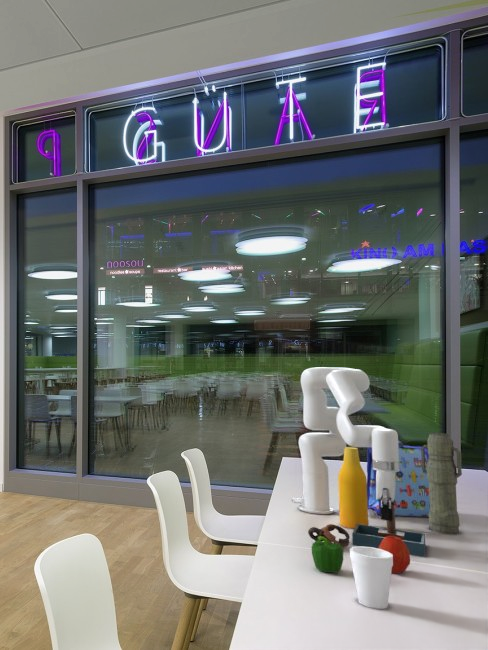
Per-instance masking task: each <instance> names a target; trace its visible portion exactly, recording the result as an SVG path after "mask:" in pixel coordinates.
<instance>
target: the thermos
mask: <svg viewBox="0 0 488 650" xmlns="http://www.w3.org/2000/svg"><path fill="white" fill-rule="evenodd" d="M426 441H427V444H424V445H422V446H421V447H422V448H421V454H422V470H423V473H426V474H427V480H428V482H429V495H430V510H429V517H428V522H429V530H430V531H433V532H437V533H441V534H448V535H458V534H460V526H461V523H460V515H459V512H458V502H457V484H458V478H460V477H461V476H462V475H463V472H462V451H461V450H460V449H459V448H458V447H455V446H454V441H453V439H452V436H451V434H448V433H445V432H444V433H443V432H432V433H429V435H428V438H427V440H426ZM425 448H426V449H427V450H428V454H429V458H428V463H427V470H426V471H425ZM455 453H456V464H455V459H454V456H455Z"/></svg>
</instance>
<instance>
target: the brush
mask: <svg viewBox="0 0 488 650" xmlns="http://www.w3.org/2000/svg"><path fill="white" fill-rule="evenodd" d="M391 509H392V519H393V520H392V521H387V520H386V528H387V530H385V529H379V531H378V536H379V537H387V536H393V535H394V536H396V537H398V538H400V539H401V540H405V532H398V531H396V530H397V529H396V527H397V526H396V516H395V506H394V505H391Z"/></svg>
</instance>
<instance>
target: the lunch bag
mask: <svg viewBox="0 0 488 650" xmlns="http://www.w3.org/2000/svg"><path fill="white" fill-rule="evenodd" d="M422 447H423V446H415V445H414V446H410V445H404V444H403V442H402V441H400V440H398V450H399V472H395V498H394V501H393V503H394V506H395V517H396V516H397V517H418V518H419V517H420V518H421V517H422V518H424V517H425V518H429V510H430V495H429V482H428V480H427V474H426V473H423V470H422V454H421V448H422ZM366 448H367V451H366V452H367V453H366V454H367V457H366V459H367V461H366V472H367V473H366V474H367V475H366V480H367V503H368V510H369V509H373V510H374V511H375V513H376V514H378V516H381V509H380V507H381V499H379V500H377V499H376V470H374V469H373V460H372V447H366ZM428 458H429V454H428V448H426V447H425V471H426V470H427V463H428Z"/></svg>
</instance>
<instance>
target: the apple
mask: <svg viewBox="0 0 488 650" xmlns="http://www.w3.org/2000/svg"><path fill="white" fill-rule="evenodd" d="M378 549H382V550H385V551H388V552H390V553H391V554H393V566H392V570H391V574H401V573H404V572H405V571H406V570H407V569H408V568H409V566H410V565H411V555H410V553H409V550H408V548H407V546H406V544H405V543H404V542H403V540H401V539H400V538H398V537H396V536H394V535H393V536H387V537H385V538H384V539H383V540H382V542H381V544H380V546H379V548H378Z"/></svg>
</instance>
